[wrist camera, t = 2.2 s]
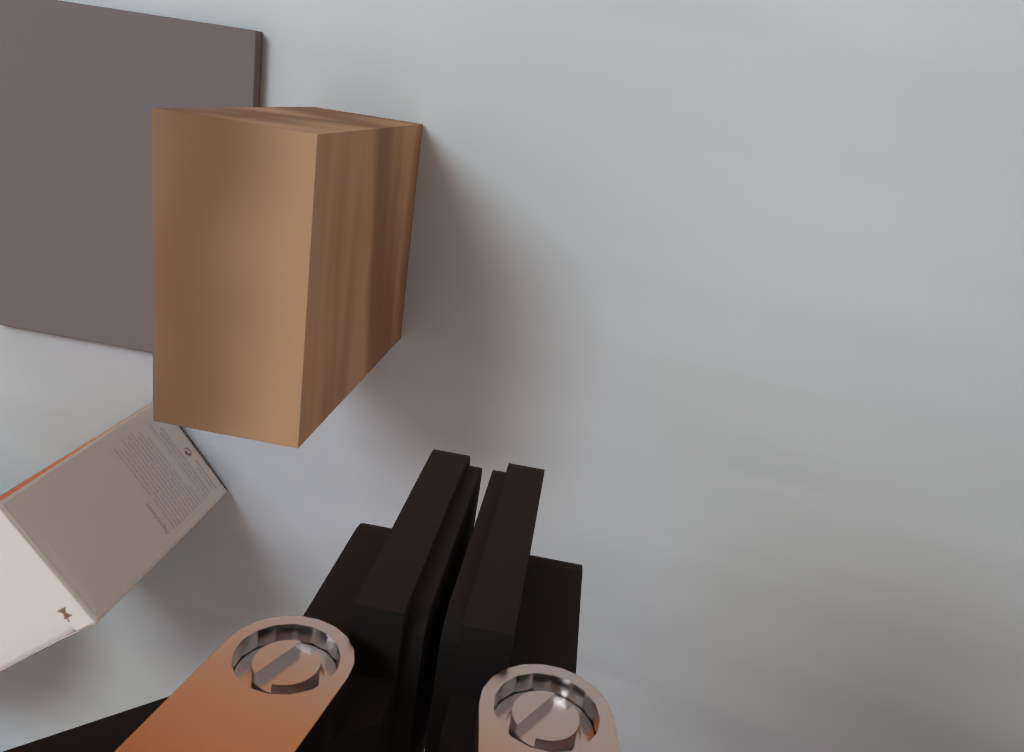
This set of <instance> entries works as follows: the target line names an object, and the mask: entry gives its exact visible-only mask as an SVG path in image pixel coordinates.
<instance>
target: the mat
mask: <svg viewBox="0 0 1024 752" xmlns="http://www.w3.org/2000/svg"><path fill="white" fill-rule="evenodd" d="M261 43H262V32H259V31H254V30H247V29H241V28H234V27H228V26H221V25H215V24H208V23H202V22H195V21H189V20H182V19H176V18H169V17H162V16H156V15H149V14H143V13H136V12H130V11H123V10H117V9H110V8H104V7H97V6H91V5H84V4H77V3H71V2H64V1H58V0H0V325H5V326H10V327H16V328H21V329H27V330H32V331H38V332H43V333H49V334H54V335H60V336H65V337H70V338H76V339H81V340H87V341H92V342H98V343H103V344H109V345H114V346H120V347H125V348H131V349H136V350H141V351H147V352H152V353H153V220H152V108H228V107H259V95H260V69H261Z"/></svg>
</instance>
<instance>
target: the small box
mask: <svg viewBox="0 0 1024 752" xmlns="http://www.w3.org/2000/svg"><path fill="white" fill-rule="evenodd" d="M225 494H226V489H225V488H224V487H223V485H222V484H221V483H220V481H219V480H218V478H217V477H216V476H215V475H214V473H213V472H212V470H211V469H210V468H209V466H208V465H207V464H206V462H205V461H204V460H203V458H202V457H201V455H200V454H199V453H198V452H197V450H196V449H195V448H194V446H193V445H192V443H191V442H190V441H189V439H188V438H187V437H186V435H185V434H184V433H183V431H182V430H181V429H180V427H179V426H177V425H172V424H167V423H162V422H156V421H153V402H152V403H150V404H149V405H147V406H146V407H144V408H142V409H141V410H139V411H138V412H136V413H134V414H133V415H131V416H129V417H128V418H126V419H125V420H123V421H121V422H120V423H118V424H117V425H115V426H113V427H112V428H110V429H108V430H107V431H105V432H104V433H102V434H100V435H99V436H97V437H96V438H94V439H92V440H91V441H89V442H87V443H86V444H84V445H83V446H81V447H79V448H78V449H76V450H74V451H73V452H71V453H70V454H68V455H66V456H65V457H63V458H61V459H60V460H58V461H56V462H55V463H53V464H51V465H50V466H48V467H46V468H45V469H43V470H41V471H40V472H38V473H36V474H35V475H33V476H31V477H30V478H28V479H27V480H25V481H23V482H22V483H20V484H19V485H17V486H15V487H14V488H12V489H11V490H9V491H8V492H6V493H4V494H3V495H1V496H0V671H2V670H4V669H6V668H8V667H10V666H11V665H13V664H15V663H17V662H19V661H21V660H23V659H25V658H26V657H28V656H30V655H32V654H34V653H36V652H38V651H40V650H42V649H44V648H46V647H48V646H50V645H52V644H54V643H55V642H58V641H60V640H62V639H64V638H66V637H68V636H70V635H72V634H74V633H77V632H79V631H82V630H84V629H86V628H88V627H90V626H93V625H95V624H97V623H98V622H99V621H100V620H101V619H102V618H103V617H104V616H105V615H106V614H107V613H108V612H109V611H110V609H111V608H112V607H113V606H115V605H116V604H117V603H118V602H119V601H120V600H121V599H122V598H123V597H124V596H125V595H126V594H127V593H128V592H129V590H130V589H131V588H132V587H133V586H134V585H135V584H136V583H137V582H138V581H139V580H140V579H142V578H143V577H144V576H145V575H146V574H147V573H148V572H149V571H150V570H151V569H152V568H153V567H154V566H155V565H156V564H157V563H158V562H159V561H160V560H161V559H162V558H163V557H164V556H165V555H166V554H167V553H168V552H169V551H170V550H171V549H172V548H173V547H174V546H175V545H176V544H177V543H178V542H179V541H180V540H181V539H182V538H183V537H184V536H185V535H186V534H187V533H188V532H189V531H190V530H191V529H192V528H193V527H194V526H195V525H196V524H197V523H198V522H199V521H200V520H201V519H202V518H203V517H204V516H205V515H206V514H207V513H208V511H209V510H210V509H211V508H212V507H213V506H214V505H215V504H216V503H217V502H218V501H219V500H220V499H221V498H222V497H223V496H224V495H225Z"/></svg>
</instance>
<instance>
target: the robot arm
mask: <svg viewBox="0 0 1024 752" xmlns="http://www.w3.org/2000/svg"><path fill="white" fill-rule="evenodd" d="M544 471H545V470H543V469H537V468H532V467H526V466H521V465H516V464H510V463H509V465H508V468H507V471H506V472H500V471H495V470H493V471H492V474H491V477H490V480H489V484H488V487H487V490H486V493H485V496H484V499H483V502H482V505H481V508H480V511H479V514H478V517H477V520H476V523H475V516H476V510H477V503H478V496H479V489H480V482H481V475H482V468H479V467H473V466H470V456H467V455H461V454H456V453H451V452H445V451H440V450H433V451H432V453H431V455H430V457H429V458H428V460H427V462H426V464H425V466H424V468H423V470H422V472H421V474H420V476H419V478H418V480H417V481H416V483H415V485H414V487H413V489H412V491H411V493H410V495H409V497H408V499H407V501H406V503H405V504H404V506H403V508H402V510H401V512H400V514H399V516H398V518H397V520H396V522H395V524H394V526H393V527H392V529H391V528H386V527H381V526H376V525H370V524H365V523H361V524H360V525H359V526H358V527H357V528H356V530H355V532H354V533H353V535H352V536H351V538H350V540H349V541H348V543H347V545H346V546H345V548H344V550H343V551H342V553H341V555H340V556H339V558H338V560H337V561H336V563H335V565H334V566H333V568H332V569H331V571H330V573H329V574H328V576H327V578H326V579H325V581H324V583H323V584H322V586H321V588H320V589H319V591H318V593H317V594H316V596H315V597H314V599H313V601H312V602H311V604H310V606H309V607H308V609H307V611H306V612H305V614H304V616H278V617H273V618H268V619H262V620H259V621H257V622H254V623H252V624H249V625H247V626H245V627H242V628H241V629H240V630H238V631H237V632H236V633H234V634H233V635H232V636H230V637H229V638H228V639H227V640H226V641H225V642H224V643H223V644H222V645H221V646H220V647H219V648H218V649H217V650H216V651H215V652H214V653H213V654H212V655H211V656H210V657H209V658H208V659H207V660H206V661H205V662H204V663H203V664H202V665H201V666H200V667H199V668H198V669H197V670H196V671H195V672H194V673H193V674H192V675H191V676H190V677H189V678H188V679H187V680H186V681H185V682H184V683H183V684H182V685H181V686H180V687H179V688H178V689H177V690H176V691H175V692H174V693H173V694H172V695H171V696H169V697H166V698H163V699H160V700H157V701H154V702H151V703H148V704H145V705H142V706H139V707H136V708H133V709H130V710H127V711H124V712H121V713H118V714H115V715H112V716H109V717H106V718H103V719H100V720H97V721H94V722H91V723H88V724H85V725H82V726H79V727H76V728H73V729H70V730H67V731H64V732H61V733H58V734H55V735H52V736H49V737H46V738H43V739H40V740H37V741H34V742H31V743H28V744H25V745H22V746H19V747H16V748H13V749H10V750H7V751H4V752H424V749H425V752H621V751H620V746H619V741H618V736H617V731H616V726H615V721H614V716H613V714H612V711H611V709H610V706H609V704H608V702H607V700H606V699H605V698H604V697H603V695H602V694H601V693H600V692H599V691H598V689H597V688H596V687H595V686H593V685H592V684H590V683H589V682H588V681H586V680H585V679H583V678H582V677H581V676H579V675H576V662H577V646H578V630H579V614H580V599H581V583H582V565H579V564H574V563H569V562H563V561H558V560H553V559H548V558H542V557H537V556H532V555H530V550H531V545H532V539H533V533H534V528H535V522H536V516H537V511H538V505H539V499H540V494H541V488H542V482H543V477H544ZM474 523H475V526H474Z"/></svg>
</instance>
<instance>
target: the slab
mask: <svg viewBox="0 0 1024 752" xmlns="http://www.w3.org/2000/svg"><path fill="white" fill-rule="evenodd" d="M421 133H422V124H417V123H411V122H405V121H398V120H392V119H386V118H379V117H373V116H367V115H361V114H354V113H348V112H342V111H335V110H329V109H323V108H317V107H228V108H152V220H153V421H156V422H162V423H167V424H172V425H177V426H183V427H188V428H193V429H199V430H204V431H209V432H214V433H220V434H225V435H230V436H236V437H241V438H246V439H251V440H257V441H262V442H267V443H273V444H278V445H283V446H288V447H294V448H299V447H300V446H301V444H302V443H303V442H304V441H305V440H306V439H307V438H308V437H309V436H310V435H311V434H312V433H313V432H314V430H315V429H316V428H317V427H318V426H319V425H320V424H321V423H322V422H323V421H324V420H325V419H326V418H327V416H328V415H329V414H330V413H331V412H332V411H333V410H334V409H335V408H336V407H337V406H338V405H339V404H340V403H341V401H342V400H343V399H344V398H345V397H346V396H347V395H348V394H349V393H350V392H351V391H352V390H353V389H354V387H355V386H356V385H357V384H358V383H359V382H360V381H361V380H362V379H363V378H364V377H365V376H366V375H367V373H368V372H369V371H370V370H371V369H372V368H373V367H374V366H375V365H376V364H377V363H378V362H379V361H380V359H381V358H382V357H383V356H384V355H385V354H386V353H387V352H388V351H389V350H390V349H391V348H392V347H393V345H394V344H395V343H396V342H397V341H398V340H399V339H400V336H401V326H402V317H403V307H404V297H405V288H406V278H407V268H408V259H409V249H410V239H411V230H412V220H413V210H414V201H415V191H416V181H417V172H418V162H419V152H420V143H421Z"/></svg>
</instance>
